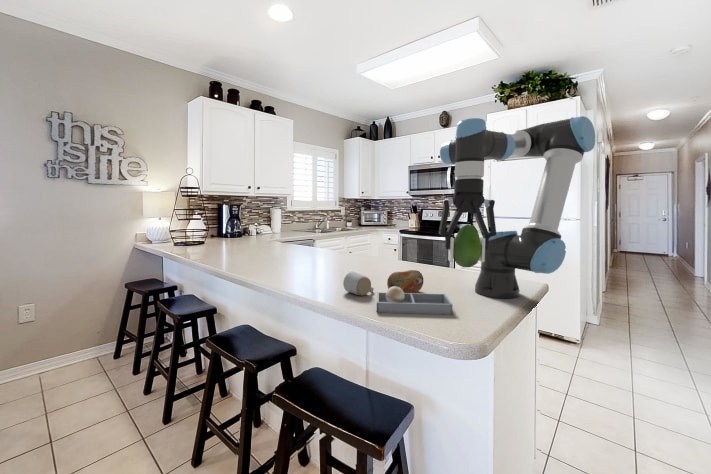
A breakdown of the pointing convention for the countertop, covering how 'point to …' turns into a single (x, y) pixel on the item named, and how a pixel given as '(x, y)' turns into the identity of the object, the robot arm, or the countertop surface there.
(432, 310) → the grey divided tray
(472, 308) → the countertop surface
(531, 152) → the robot arm
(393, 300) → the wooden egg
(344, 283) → the ceramic mug
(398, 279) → the tin
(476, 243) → the avocado
